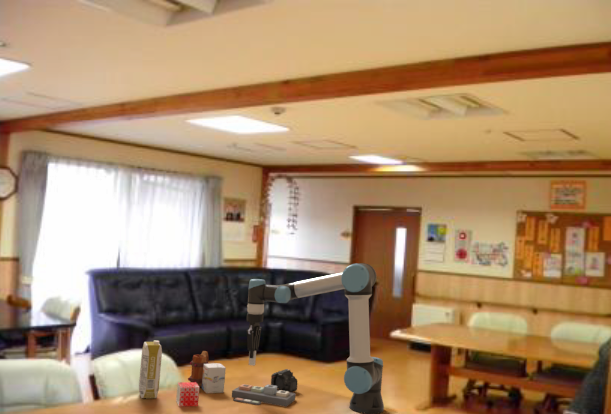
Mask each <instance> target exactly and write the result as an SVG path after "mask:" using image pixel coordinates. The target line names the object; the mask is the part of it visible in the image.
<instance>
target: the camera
mask: <svg viewBox="0 0 611 414" xmlns="http://www.w3.org/2000/svg"><path fill="white" fill-rule="evenodd" d="M270 377H271V378H270V385H275V386H277V390H278V391H279V390H282V391H288V392H290V393H294V392H297V391H298V379H297V378H296V376H294V372H292V371H291V369H288V368H285V369H282V370H278V371H277V372H273V373H272V374H271V376H270Z"/></svg>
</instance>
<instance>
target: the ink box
mask: <svg viewBox="0 0 611 414" xmlns="http://www.w3.org/2000/svg"><path fill="white" fill-rule="evenodd" d="M225 380H226V366H224V365H223V364H222V363H217V362H215V363H214V362H213V363H208V364H204V367H203V379H202V386H201V389H202V390H203V391H204V392H205V393H206V394H215V393H216V394H221V393H224V391H225Z"/></svg>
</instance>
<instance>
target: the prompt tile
mask: <svg viewBox="0 0 611 414" xmlns="http://www.w3.org/2000/svg"><path fill="white" fill-rule="evenodd" d="M233 401H234V402H238V403H243V404H249V405H256V406H260V405H261V404H262V402H259V401H253V400H248V399H242V398H233Z"/></svg>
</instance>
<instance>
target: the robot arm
mask: <svg viewBox="0 0 611 414" xmlns="http://www.w3.org/2000/svg"><path fill="white" fill-rule="evenodd" d="M376 280H377V271H376V270H375V268H374V267H373V266H372V265H370V264H368V263H365V262H364V263H363V262H361V263H357V262H356V263H352V264H349V265H347V267H345V268H344V269H343V271H341V272H338V273H332V274H329V275H324V276H318V277H314V278H309V279H303V280H299V281H295V282H290V283H286V284H279V285H278V284H276V285H274V284H267V283H266V280H265V279H260V278H253V279H252V278H251V279H250V280H249V283H248V294H247V296H248V298H247V305H246V307H247V314H246V322H249V325H248V329H246V341H247V342H246V343H247V344H246V345H247V351H248V352H249V353H248V366H253V367H255V366H256V363H257V362H256V358H257V351H259V348H260V347H259V346H260V340H261V339H260V338H261V332H262V326H261V324H260V323H263V322H264V313H265V302H270V303H271V302H272V303H273V302H274V303H279V304H287V303H289V301H292V300H294V299H295V300H296V299H300V298H304V297H311V296H315V295H320V294H326V293H330V292H335V291H340V290H344V296H345V297H346V298H347V299H348V331H349V333H348V334H349V335H348V336H349V357H348V358H347V359H346V370H345V373H344V375H343V381H344V385H345V386H346V388H347V389H348V390H349V391H350V392H351V393H352V396H351V398H350V401H349V408H350V409H351V410H352V411H354V412H357V413H361V412H362V414H377V413H378V414H381V412H382V413H383V412H384V408H385V406H384V405H385V404H384V400H383V396H382V385H383V384H382V383H383V382H382V381H383V370H384V369H383V368H384V360H383V359H382V358H379V357H376V356H371V346H370V345H371V337H370V307H369V305H370V302H369V299H370V298H371V297H372V295H373V288H372V287H373V286H374V285H375V283H376Z"/></svg>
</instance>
